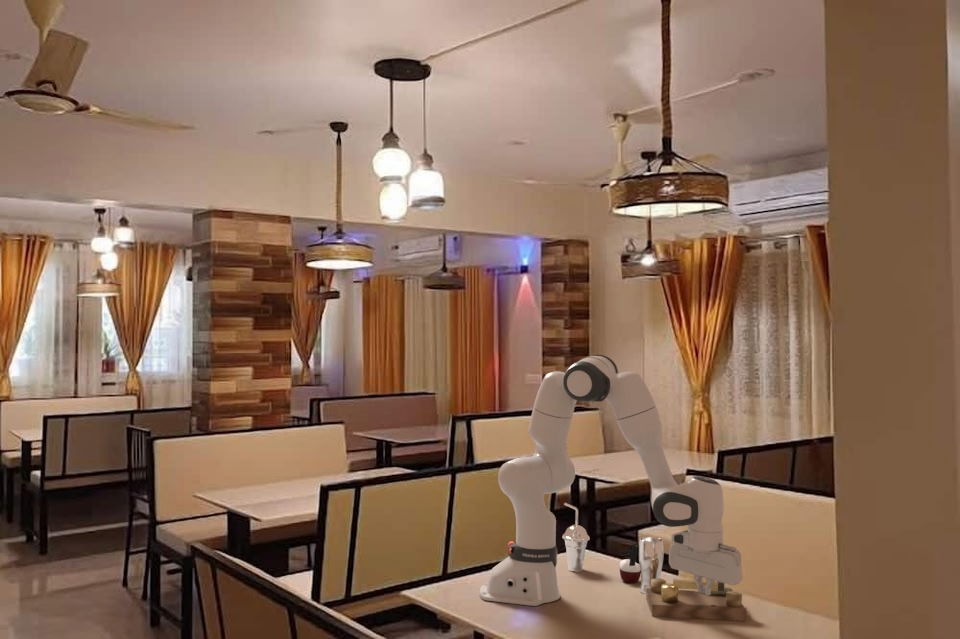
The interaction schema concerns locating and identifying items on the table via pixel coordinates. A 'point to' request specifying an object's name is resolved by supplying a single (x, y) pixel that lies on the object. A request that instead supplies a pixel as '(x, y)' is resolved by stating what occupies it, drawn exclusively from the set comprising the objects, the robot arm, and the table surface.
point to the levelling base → (696, 604)
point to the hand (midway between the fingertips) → (704, 593)
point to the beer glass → (650, 560)
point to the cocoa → (630, 567)
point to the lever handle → (671, 590)
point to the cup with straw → (575, 544)
